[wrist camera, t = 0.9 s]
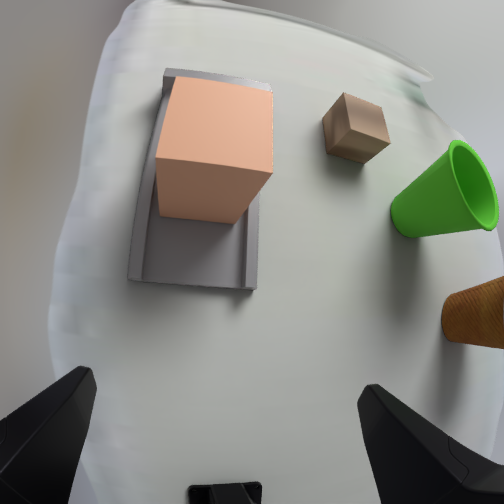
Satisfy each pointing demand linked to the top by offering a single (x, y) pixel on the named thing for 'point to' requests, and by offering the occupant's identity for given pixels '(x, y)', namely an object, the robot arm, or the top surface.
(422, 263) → the top surface
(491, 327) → the disposable coffee cup
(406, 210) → the cup
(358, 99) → the walnut block
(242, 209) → the terracotta block
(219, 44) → the top surface
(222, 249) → the track
